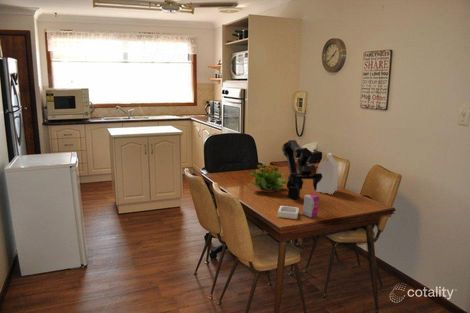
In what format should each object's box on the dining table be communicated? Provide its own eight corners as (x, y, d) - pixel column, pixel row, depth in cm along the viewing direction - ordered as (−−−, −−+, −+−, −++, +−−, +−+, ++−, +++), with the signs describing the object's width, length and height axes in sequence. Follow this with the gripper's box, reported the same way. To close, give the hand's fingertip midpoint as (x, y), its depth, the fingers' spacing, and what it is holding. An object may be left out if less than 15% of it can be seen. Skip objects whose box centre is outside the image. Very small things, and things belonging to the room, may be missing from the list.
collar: (279, 210, 208) (280, 205, 208) (298, 212, 206) (298, 207, 205) (277, 216, 198) (277, 211, 198) (297, 219, 196) (297, 213, 195)
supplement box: (310, 218, 198) (312, 197, 196) (302, 214, 203) (303, 194, 200) (317, 216, 201) (319, 196, 199) (309, 213, 206) (311, 193, 204)
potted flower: (283, 197, 233) (284, 170, 229) (246, 194, 237) (247, 167, 234) (285, 187, 257) (287, 162, 253) (252, 184, 261) (253, 160, 258)
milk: (320, 187, 259) (323, 151, 254) (337, 190, 253) (340, 153, 248) (315, 191, 249) (318, 153, 244) (332, 194, 243) (335, 156, 238)
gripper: (290, 159, 207) (295, 183, 198) (322, 159, 210) (328, 183, 201) (286, 169, 216) (290, 193, 208) (316, 169, 219) (322, 193, 210)
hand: (307, 190), depth 206 cm, fingers open, 9 cm apart
